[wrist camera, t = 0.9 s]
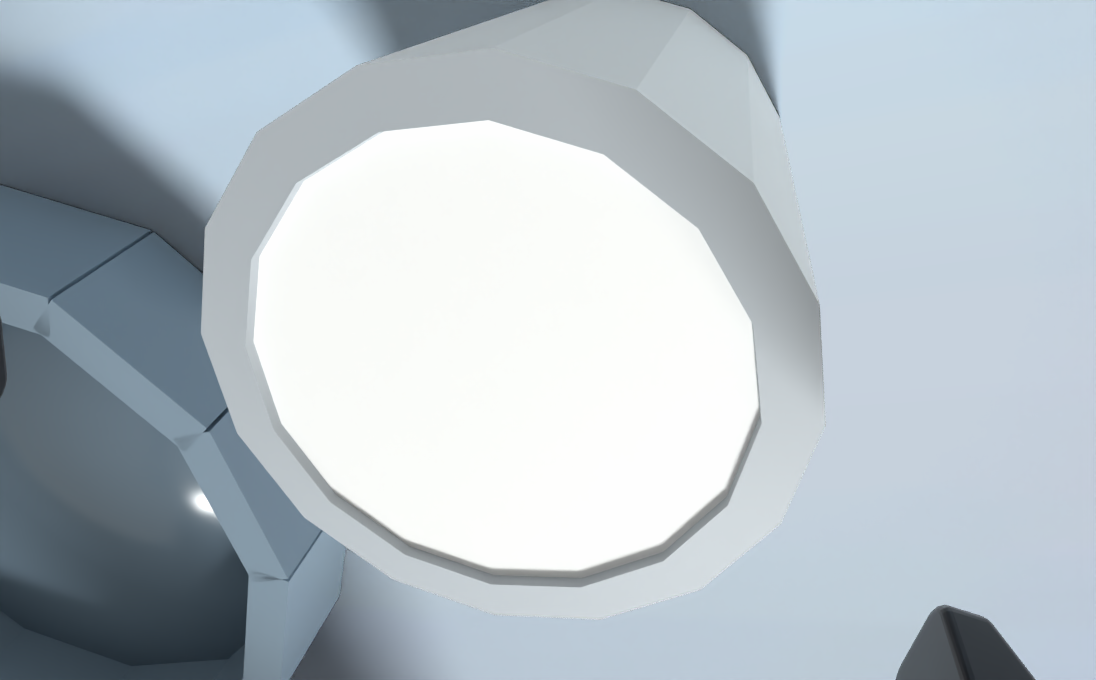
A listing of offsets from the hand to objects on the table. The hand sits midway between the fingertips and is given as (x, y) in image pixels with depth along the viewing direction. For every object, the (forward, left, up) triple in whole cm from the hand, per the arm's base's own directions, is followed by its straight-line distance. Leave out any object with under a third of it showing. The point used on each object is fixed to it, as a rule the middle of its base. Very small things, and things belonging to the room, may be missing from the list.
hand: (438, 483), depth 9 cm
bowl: (-10, +10, -9) cm, 16 cm away
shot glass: (0, 0, -9) cm, 9 cm away
